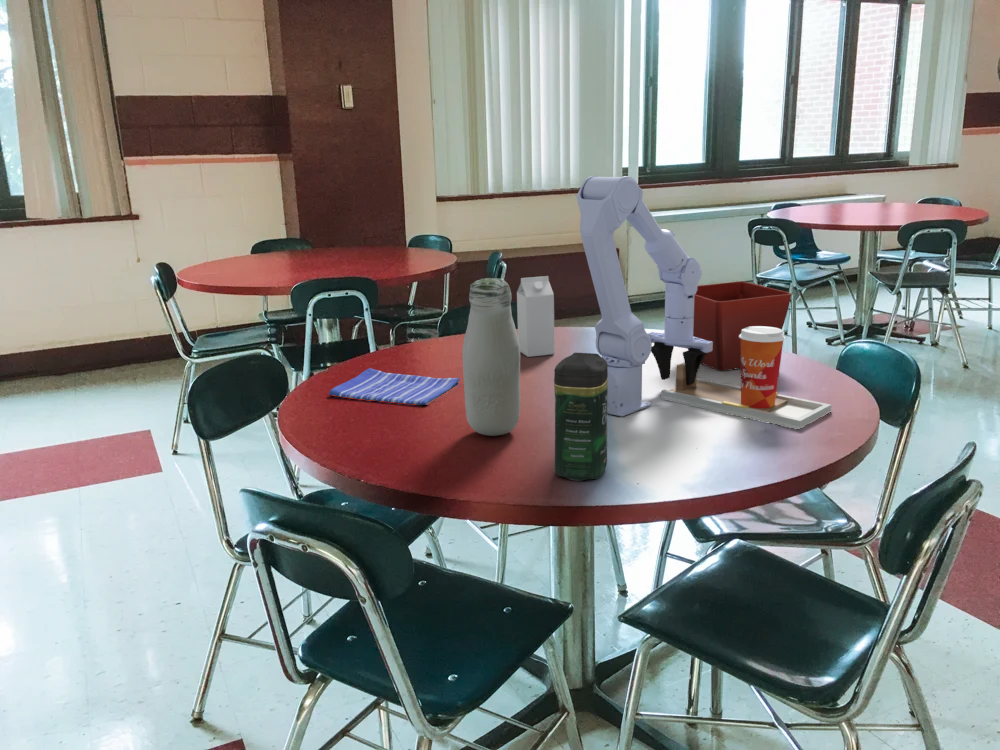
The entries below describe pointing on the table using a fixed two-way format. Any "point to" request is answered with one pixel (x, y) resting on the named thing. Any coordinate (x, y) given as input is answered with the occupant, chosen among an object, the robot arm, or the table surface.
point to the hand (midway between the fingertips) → (677, 381)
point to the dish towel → (394, 387)
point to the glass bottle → (491, 360)
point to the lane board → (787, 415)
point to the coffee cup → (760, 365)
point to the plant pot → (734, 317)
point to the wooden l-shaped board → (713, 390)
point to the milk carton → (535, 316)
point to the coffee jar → (581, 416)
